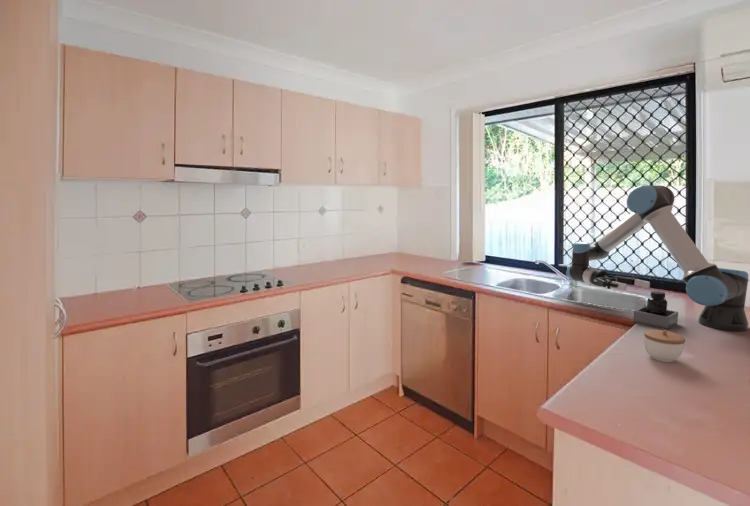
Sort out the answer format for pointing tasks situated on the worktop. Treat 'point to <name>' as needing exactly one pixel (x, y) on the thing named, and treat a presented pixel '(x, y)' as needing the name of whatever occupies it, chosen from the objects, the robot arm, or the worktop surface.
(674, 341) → the lidded jar
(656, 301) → the supplement bottle
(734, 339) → the worktop surface
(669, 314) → the bin
